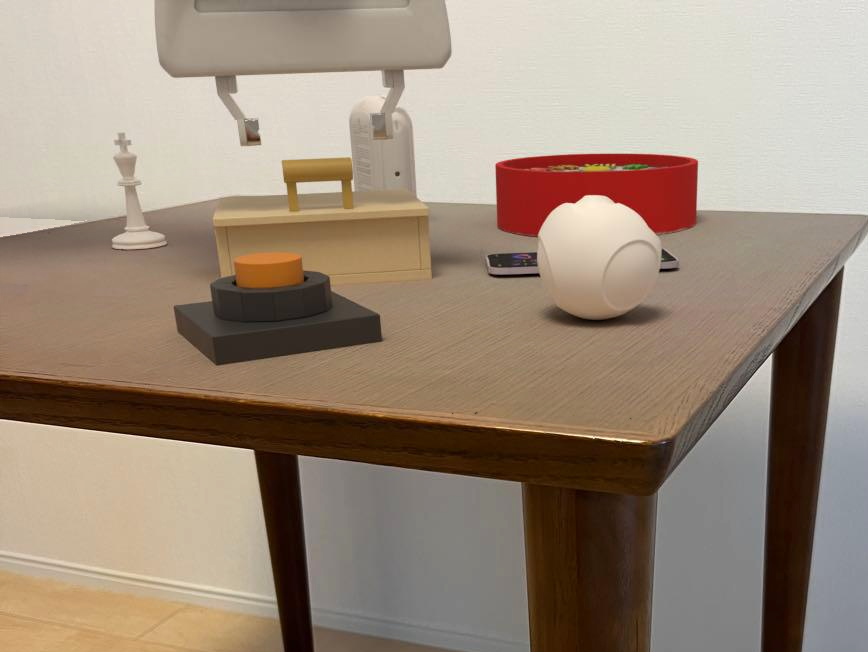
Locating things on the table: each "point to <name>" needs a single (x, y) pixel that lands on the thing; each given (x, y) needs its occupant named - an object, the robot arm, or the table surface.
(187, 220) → the table surface
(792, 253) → the table surface
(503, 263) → the smartphone
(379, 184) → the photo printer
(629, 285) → the motion sensor
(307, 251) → the open wooden box
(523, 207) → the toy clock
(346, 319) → the block
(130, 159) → the chess piece
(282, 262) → the button
